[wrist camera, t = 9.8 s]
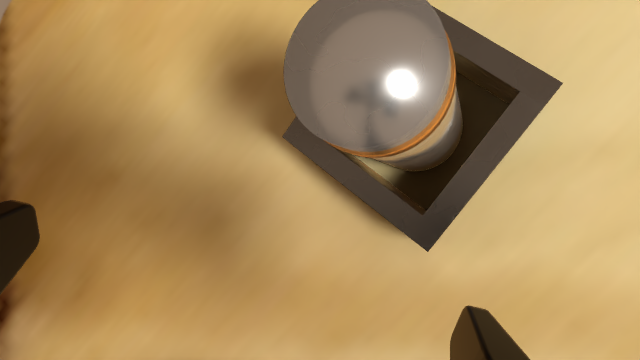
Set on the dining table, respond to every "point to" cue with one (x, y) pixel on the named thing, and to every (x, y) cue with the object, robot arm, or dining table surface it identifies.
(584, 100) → the dining table surface
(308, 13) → the tube
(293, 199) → the dining table surface
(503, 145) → the collar
